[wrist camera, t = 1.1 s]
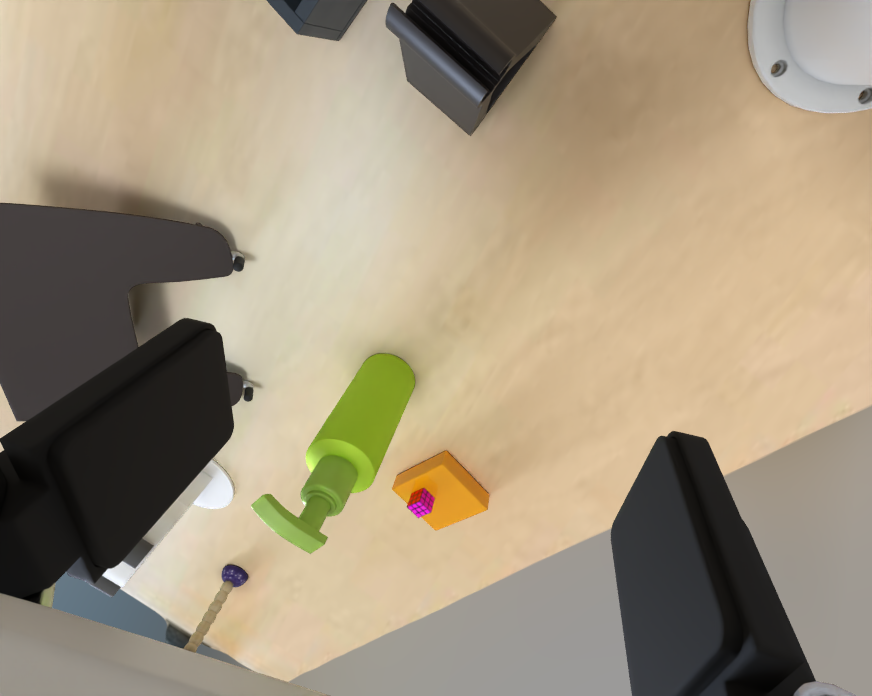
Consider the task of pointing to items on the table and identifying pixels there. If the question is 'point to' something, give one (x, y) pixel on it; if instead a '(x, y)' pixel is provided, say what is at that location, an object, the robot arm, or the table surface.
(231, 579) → the toy lamp
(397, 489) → the orange tile with knob
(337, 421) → the soap dispenser
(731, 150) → the table surface
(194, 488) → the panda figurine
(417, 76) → the phone stand
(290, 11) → the tote
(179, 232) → the laptop tray
